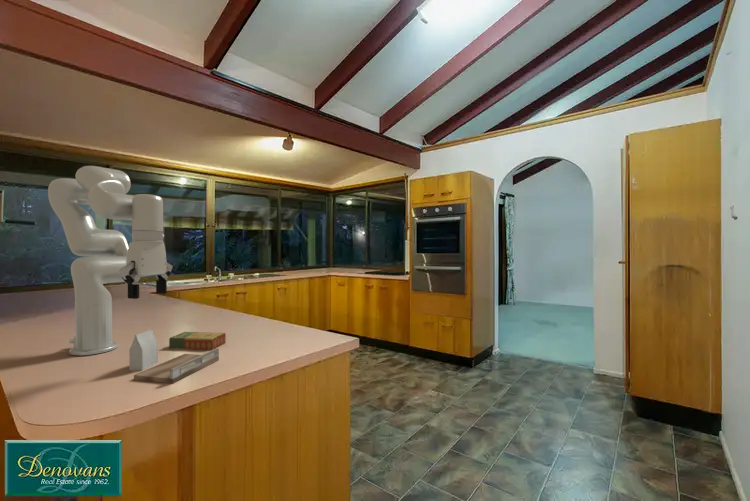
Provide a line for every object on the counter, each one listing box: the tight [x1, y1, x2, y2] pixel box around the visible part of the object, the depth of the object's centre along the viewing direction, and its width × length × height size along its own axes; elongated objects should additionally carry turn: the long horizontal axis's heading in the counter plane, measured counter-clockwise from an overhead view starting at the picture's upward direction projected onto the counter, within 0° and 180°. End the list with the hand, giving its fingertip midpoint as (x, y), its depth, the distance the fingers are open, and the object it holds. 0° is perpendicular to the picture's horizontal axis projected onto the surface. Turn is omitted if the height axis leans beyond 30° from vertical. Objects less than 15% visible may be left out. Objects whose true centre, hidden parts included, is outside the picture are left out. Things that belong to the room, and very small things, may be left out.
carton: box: [168, 331, 227, 351], centre depth 120 cm, size 8×16×4 cm, turn 84°
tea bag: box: [128, 328, 159, 371], centre depth 99 cm, size 4×7×10 cm, turn 0°
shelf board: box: [133, 347, 220, 384], centre depth 97 cm, size 12×18×4 cm
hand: (148, 295), depth 99 cm, fingers open, 9 cm apart
